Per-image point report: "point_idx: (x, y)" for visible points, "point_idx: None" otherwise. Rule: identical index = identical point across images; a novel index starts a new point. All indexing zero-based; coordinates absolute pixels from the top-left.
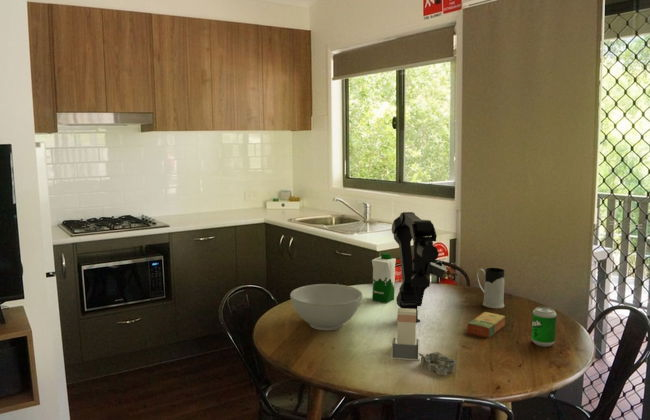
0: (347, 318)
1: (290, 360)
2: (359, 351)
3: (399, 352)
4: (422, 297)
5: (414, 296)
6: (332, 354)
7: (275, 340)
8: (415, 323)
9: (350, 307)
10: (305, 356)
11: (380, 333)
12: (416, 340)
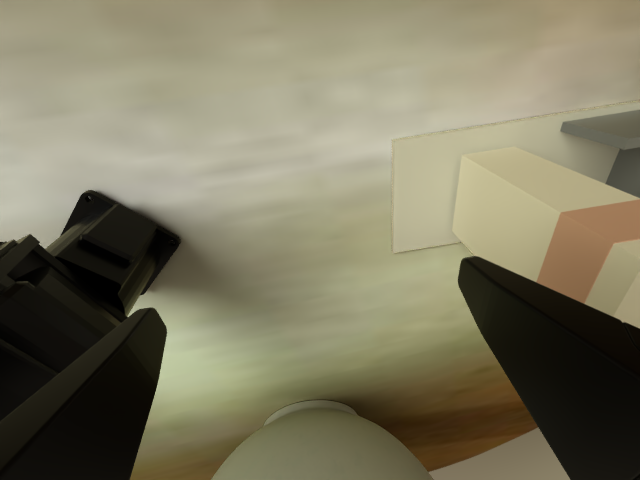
0: (361, 425)
1: None
2: None
3: None
4: (557, 295)
5: (74, 338)
6: None
7: (442, 452)
8: (634, 198)
9: (400, 475)
10: None
11: (338, 303)
12: (407, 156)
